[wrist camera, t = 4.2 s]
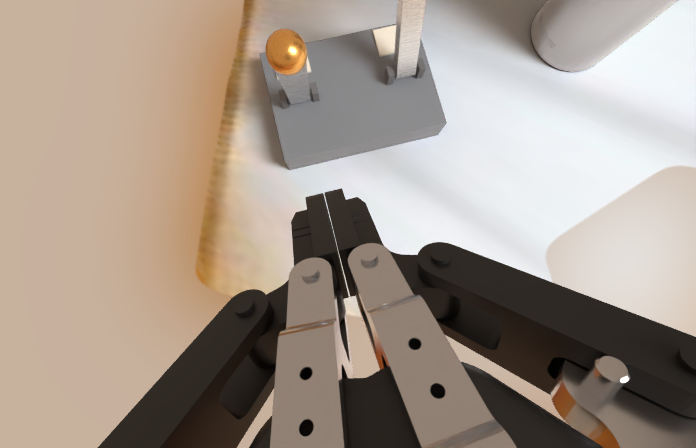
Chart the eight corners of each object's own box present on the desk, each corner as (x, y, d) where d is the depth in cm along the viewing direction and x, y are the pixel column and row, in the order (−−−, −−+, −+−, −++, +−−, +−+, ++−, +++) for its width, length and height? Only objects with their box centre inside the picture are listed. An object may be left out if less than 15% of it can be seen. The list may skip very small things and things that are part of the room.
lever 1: (308, 81, 31) (300, 17, 17) (314, 106, 31) (311, 64, 17) (284, 86, 31) (256, 26, 16) (291, 111, 31) (269, 73, 17)
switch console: (409, 39, 36) (418, 8, 31) (437, 134, 34) (451, 115, 30) (266, 71, 35) (255, 43, 31) (289, 170, 34) (281, 155, 29)
